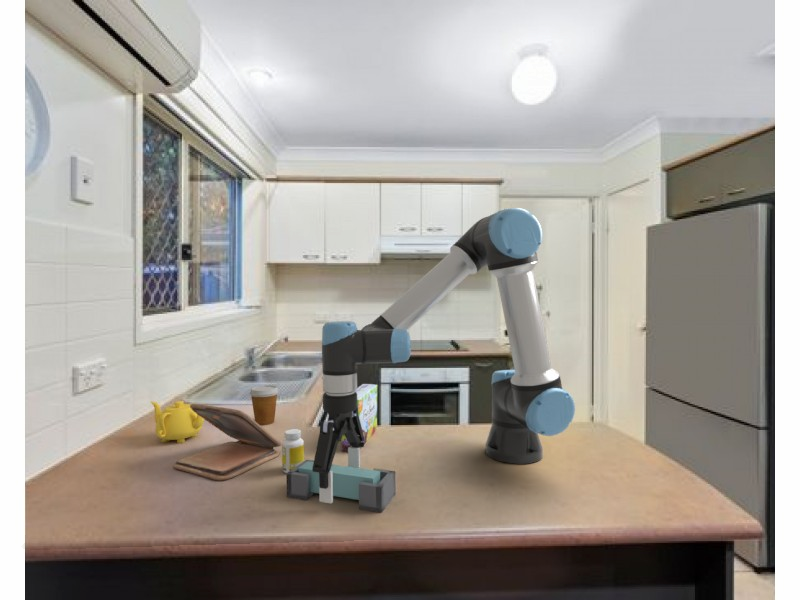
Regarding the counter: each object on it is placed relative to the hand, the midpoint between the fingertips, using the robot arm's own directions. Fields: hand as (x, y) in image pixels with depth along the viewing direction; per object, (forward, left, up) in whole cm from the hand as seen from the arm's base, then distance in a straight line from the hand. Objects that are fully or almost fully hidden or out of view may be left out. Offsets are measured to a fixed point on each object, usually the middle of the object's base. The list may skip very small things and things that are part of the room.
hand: (341, 487), depth 97 cm
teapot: (+65, -18, -2) cm, 67 cm away
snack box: (+11, -35, -2) cm, 37 cm away
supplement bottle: (+18, -9, -2) cm, 20 cm away
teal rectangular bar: (0, 0, -1) cm, 1 cm away
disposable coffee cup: (+50, -41, -2) cm, 65 cm away
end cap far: (+9, 0, -2) cm, 9 cm away
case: (+38, -9, -2) cm, 39 cm away
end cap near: (-9, 0, -2) cm, 9 cm away
